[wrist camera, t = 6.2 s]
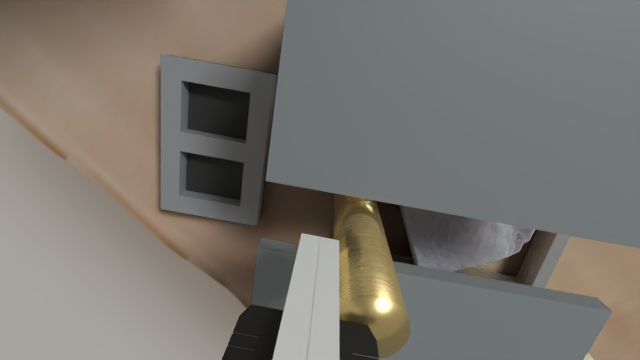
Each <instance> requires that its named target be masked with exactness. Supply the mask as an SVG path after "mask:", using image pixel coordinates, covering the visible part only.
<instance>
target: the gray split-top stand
mask: <svg viewBox="0 0 640 360" xmlns="http://www.w3.org/2000/svg"><path fill="white" fill-rule="evenodd" d="M266 181H269V182H274V183H280V184H285V185H291V186H296V187H302V188H308V189H313V190H319V191H324V192H330V193H335V194H341V195H346V196H352V197H358V198H363V199H369V200H374V201H380V202H385V203H391V204H397V205H402V206H408V207H413V208H419V209H424V210H430V211H436V212H441V213H447V214H452V215H458V216H463V217H469V218H475V219H480V220H486V221H491V222H497V223H502V224H508V225H514V226H519V227H525V228H530V229H536V230H541V231H547V232H552V233H558V234H564V235H569V236H575V237H580V238H586V239H591V240H597V241H603V242H608V243H614V244H619V245H625V246H630V247H636V248H640V0H287V5H286V13H285V22H284V30H283V39H282V47H281V55H280V64H279V72H278V81H277V89H276V97H275V106H274V114H273V123H272V131H271V140H270V148H269V156H268V165H267V173H266ZM298 246H299V244H294V243H288V242H283V241H277V240H272V239H266V238H262V239H261V242H260V244H259V246H258V249H257V257H256V266H255V274H254V282H253V291H252V299H251V304H253V305H259V306H264V307H269V308H274V309H280V310H284V307H285V303H286V298H287V294H288V290H289V285H290V281H291V277H292V272H293V268H294V264H295V259H296V255H297V251H298ZM393 264H394V268H395V271H396V275H397V278H398V282H399V286H400V289H401V293H402V296H403V300H404V304H405V307H406V311H407V315H408V318H409V322H410V328H411V329H410V335H409V338H408V341H407V342H406V344H405V345H404V346H403V347H402V348H401V349H400V350H399V351H398V352H396V353H395V354H393V355H391V356H389V357H386V358H382V359H379V360H583V359H584V358H585V356H586V354H587V353H588V351H589V349H590V348H591V346H592V344H593V343H594V341H595V339H596V338H597V336H598V334H599V333H600V331H601V329H602V328H603V326H604V324H605V323H606V321H607V319H608V318H609V316H610V314H611V313H612V311H611V310H610V309H609V308H608V307H607V306H606V305H605V304H603V303H602V302H601V301H600V300H599V299H598V298H595V297H590V296H584V295H578V294H573V293H567V292H562V291H556V290H550V289H545V288H539V287H534V286H528V285H523V284H517V283H511V282H506V281H500V280H495V279H489V278H484V277H478V276H472V275H467V274H461V273H456V272H450V271H444V270H439V269H433V268H428V267H422V266H417V265H411V264H405V263H400V262H394V261H393Z"/></svg>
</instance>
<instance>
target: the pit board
mask: <svg viewBox="0 0 640 360" xmlns="http://www.w3.org/2000/svg"><path fill="white" fill-rule="evenodd" d="M277 76H278V74H272V73H267V72H261V71H256V70H250V69H245V68H239V67H234V66H228V65H222V64H217V63H211V62H206V61H200V60H195V59H189V58H184V57H178V56H172V55H161V209H164V210H170V211H175V212H181V213H186V214H192V215H197V216H203V217H209V218H214V219H220V220H225V221H231V222H236V223H242V224H248V225H253V226H257V224H258V222H259V220H260V218H261V211H262V202H263V194H264V185H265V177H266V169H267V160H268V152H269V143H270V135H271V126H272V118H273V109H274V101H275V92H276V84H277Z"/></svg>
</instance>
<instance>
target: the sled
mask: <svg viewBox="0 0 640 360" xmlns="http://www.w3.org/2000/svg"><path fill="white" fill-rule="evenodd" d="M569 237H570V236H569V235H564V234H558V233H552V232H547V231H541V230H537V232H536V234H535V237H534V239H533V241H532V243H531V245H530V248H529V250H528V252H527V254H526V256H525V259H524V261H523V263H522V265H521V268H520V270H519V272H518V274H517V276H510V275H505V274H499V273H494V272H488V271H483V270H477V269H471V268H466V269H461V270H456V271H453V272H456V273H461V274H467V275H472V276H478V277H484V278H489V279H495V280H500V281H506V282H511V283H517V284H523V285H528V286H534V287H539V288H545V286H546V284H547V282H548V280H549V278H550V276H551V274H552V272H553V270H554V268H555V266H556V264H557V262H558V260H559V258H560V256H561V254H562V252H563V250H564V247H565V245H566V243H567V241H568V239H569ZM334 239H335V240H339V320H344V321H349V322H354V323H359V324H365V325H368V326H369V328H370V330H371V331H372V333H373V335H374V337H375V338H376V340H377V347H378V354H379V359H382V358H386V357H389V356H391V355H393V354H395V353H396V352H398V351H399V350H400V349H401V348H402V347H403V346H404V345H405V344H406V342H407V341H408V338H409V335H410V329H411V328H410V322H409V318H408V315H407V311H406V307H405V304H404V300H403V296H402V293H401V289H400V286H399V282H398V278H397V275H396V271H395V268H394V264H393V261H394V262H400V263H405V264H411V265H416V264H415V262H414V259H413V258H410V257H404V256H399V255H393V254H391V253H390V250H389V246H388V242H387V239H386V235H385V231H384V228H383V224H382V221H381V217H380V213H379V210H378V206H377V203H376V201H374V200H369V199H363V198H358V197H352V196H346V195H341V194H335V211H334Z"/></svg>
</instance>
